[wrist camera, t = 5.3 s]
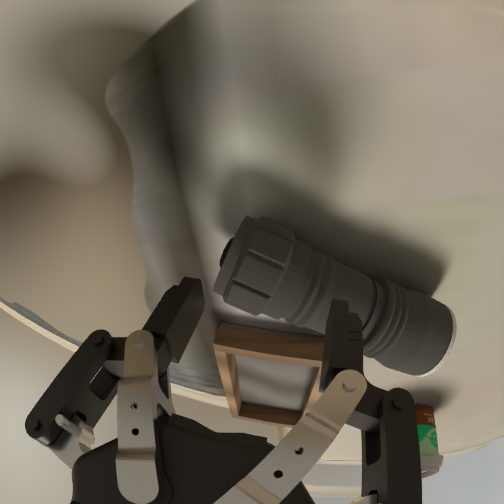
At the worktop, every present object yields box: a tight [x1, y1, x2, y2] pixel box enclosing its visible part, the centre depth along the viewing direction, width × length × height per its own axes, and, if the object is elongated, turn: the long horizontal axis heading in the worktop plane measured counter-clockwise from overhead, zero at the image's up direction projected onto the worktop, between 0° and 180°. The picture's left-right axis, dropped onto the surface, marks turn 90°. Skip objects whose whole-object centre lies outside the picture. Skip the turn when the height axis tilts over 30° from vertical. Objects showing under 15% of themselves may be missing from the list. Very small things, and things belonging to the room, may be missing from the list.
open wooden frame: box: [213, 322, 324, 428], centre depth 27 cm, size 18×10×2 cm, turn 2°
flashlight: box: [213, 216, 456, 377], centre depth 16 cm, size 15×5×5 cm, turn 70°
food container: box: [414, 405, 443, 478], centre depth 24 cm, size 12×6×10 cm, turn 57°
